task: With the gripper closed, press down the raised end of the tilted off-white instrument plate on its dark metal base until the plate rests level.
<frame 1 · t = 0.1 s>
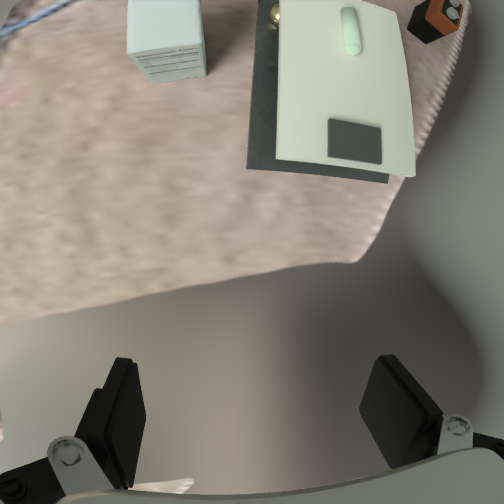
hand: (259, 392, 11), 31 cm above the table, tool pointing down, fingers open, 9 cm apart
supplement box: (177, 57, 34), on the table
battery: (419, 25, 35), on the table
level plate: (349, 66, 29), point 8 cm above the table, hinge at -10.0°
tribrach base: (326, 83, 37), on the table
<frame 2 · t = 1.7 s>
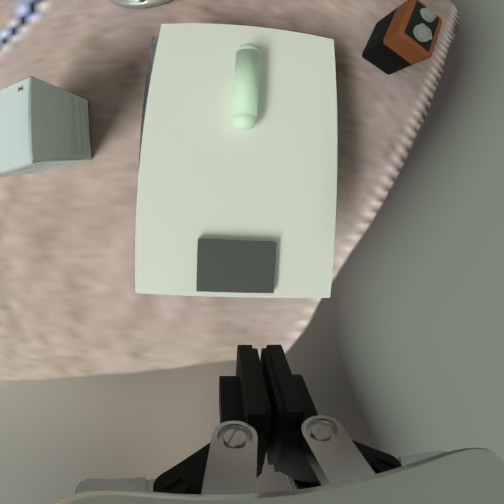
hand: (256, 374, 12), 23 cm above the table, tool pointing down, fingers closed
supplement box: (64, 137, 29), on the table
battery: (382, 48, 30), on the table
level plate: (241, 145, 24), point 8 cm above the table, hinge at -10.0°
tribrach base: (235, 152, 31), on the table
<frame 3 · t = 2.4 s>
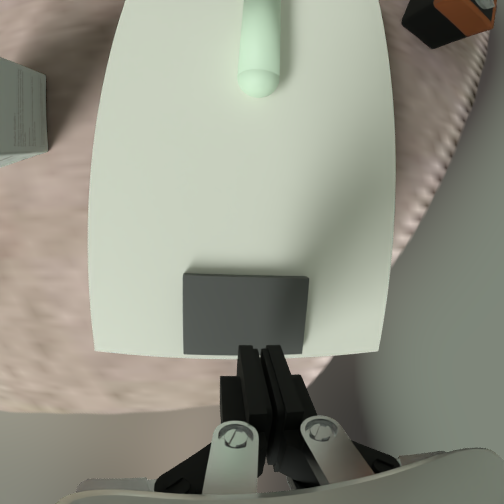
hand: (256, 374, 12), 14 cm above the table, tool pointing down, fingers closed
supplement box: (17, 124, 19), on the table
battery: (422, 18, 20), on the table
level plate: (253, 122, 14), point 8 cm above the table, hinge at -10.0°
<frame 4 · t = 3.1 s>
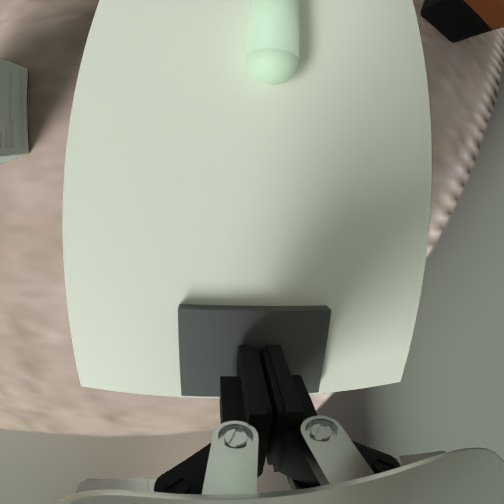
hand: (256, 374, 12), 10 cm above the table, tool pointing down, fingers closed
battery: (441, 10, 17), on the table
level plate: (264, 116, 11), point 8 cm above the table, hinge at -7.3°, touching gripper
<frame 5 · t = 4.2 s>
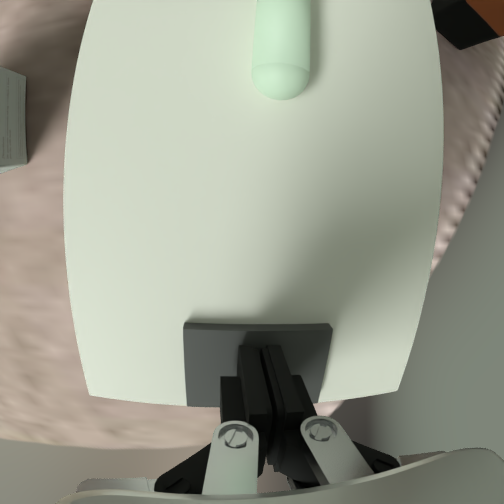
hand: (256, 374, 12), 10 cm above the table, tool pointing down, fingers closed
battery: (447, 16, 17), on the table
level plate: (271, 132, 11), point 8 cm above the table, hinge at -1.8°
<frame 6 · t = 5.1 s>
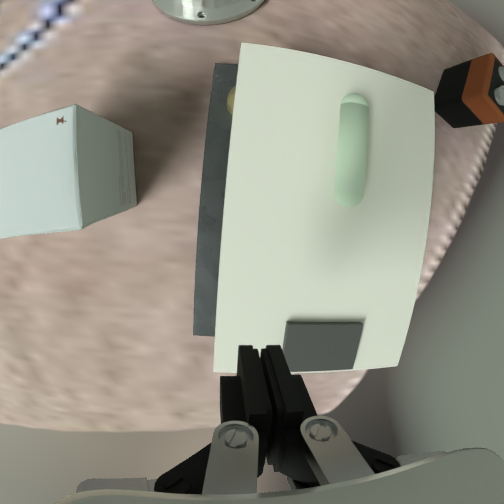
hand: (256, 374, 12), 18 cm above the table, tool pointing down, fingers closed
supplement box: (100, 174, 26), on the table
battery: (447, 98, 28), on the table
level plate: (339, 220, 21), point 8 cm above the table, hinge at -1.8°
tribrach base: (307, 210, 29), on the table
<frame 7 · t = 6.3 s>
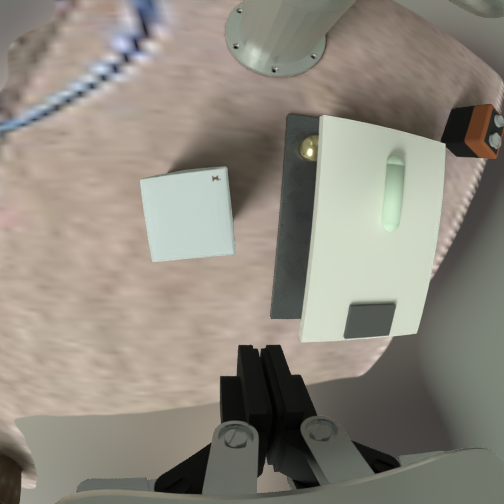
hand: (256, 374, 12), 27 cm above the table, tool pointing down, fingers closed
supplement box: (197, 199, 37), on the table
battery: (453, 132, 38), on the table
level plate: (382, 238, 32), point 8 cm above the table, hinge at -1.8°
plant pot: (10, 462, 48), on the table
tribrach base: (352, 224, 39), on the table
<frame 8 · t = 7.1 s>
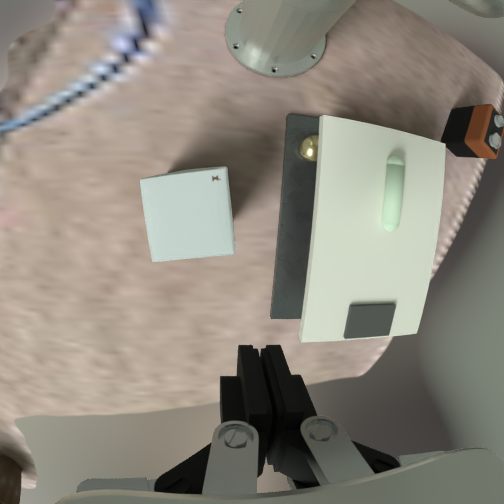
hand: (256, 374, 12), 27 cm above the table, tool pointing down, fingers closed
supplement box: (197, 199, 37), on the table
battery: (453, 132, 38), on the table
level plate: (382, 238, 32), point 8 cm above the table, hinge at -1.8°
plant pot: (10, 462, 48), on the table
tribrach base: (352, 224, 39), on the table
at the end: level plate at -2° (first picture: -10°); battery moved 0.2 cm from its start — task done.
